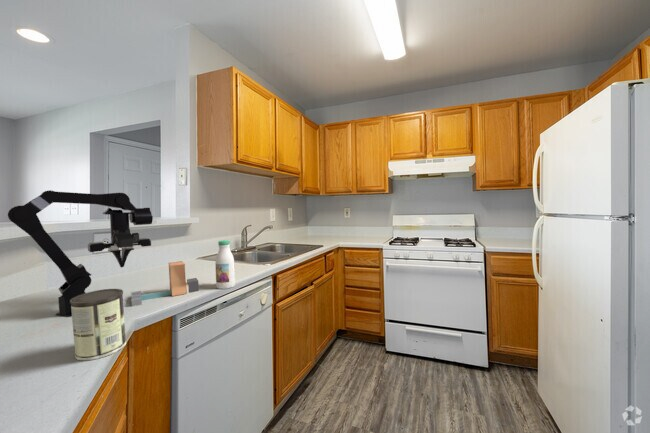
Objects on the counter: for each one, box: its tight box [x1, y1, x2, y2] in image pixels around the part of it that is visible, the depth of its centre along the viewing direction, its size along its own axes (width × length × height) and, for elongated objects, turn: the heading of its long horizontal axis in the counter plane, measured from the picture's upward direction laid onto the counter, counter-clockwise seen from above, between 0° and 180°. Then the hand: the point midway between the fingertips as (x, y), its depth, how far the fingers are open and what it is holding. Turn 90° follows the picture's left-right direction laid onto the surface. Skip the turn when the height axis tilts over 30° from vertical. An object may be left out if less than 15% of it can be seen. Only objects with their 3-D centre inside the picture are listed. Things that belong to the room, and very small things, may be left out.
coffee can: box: [70, 288, 127, 361], centre depth 70 cm, size 10×10×14 cm
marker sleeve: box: [168, 260, 187, 297], centre depth 113 cm, size 5×7×12 cm
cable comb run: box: [131, 277, 200, 307], centre depth 111 cm, size 23×12×4 cm, turn 125°
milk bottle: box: [215, 239, 236, 290], centre depth 120 cm, size 8×8×20 cm
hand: (122, 267), depth 105 cm, fingers closed
